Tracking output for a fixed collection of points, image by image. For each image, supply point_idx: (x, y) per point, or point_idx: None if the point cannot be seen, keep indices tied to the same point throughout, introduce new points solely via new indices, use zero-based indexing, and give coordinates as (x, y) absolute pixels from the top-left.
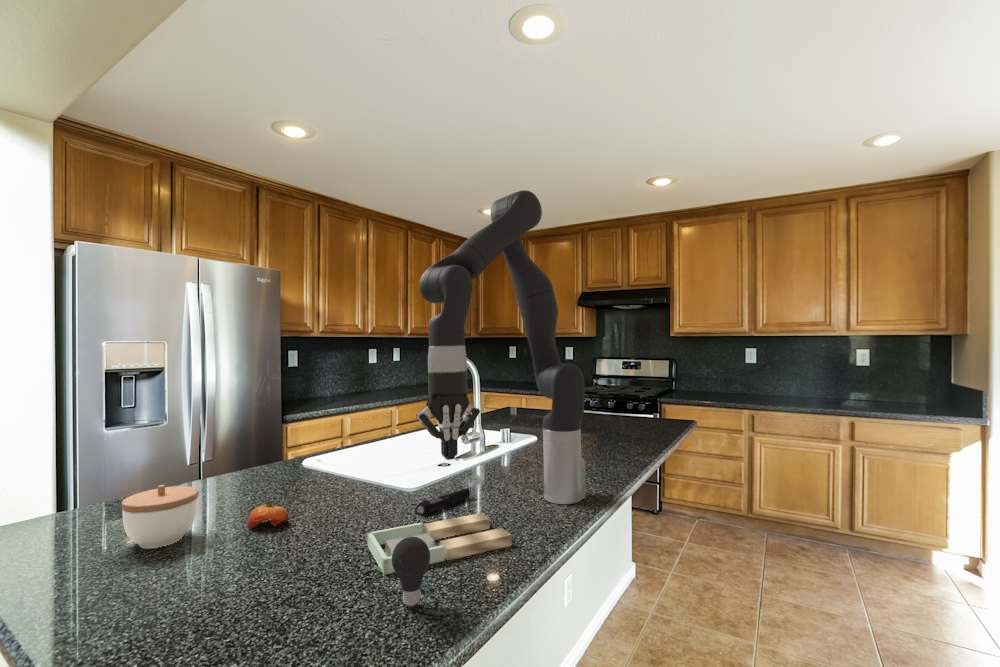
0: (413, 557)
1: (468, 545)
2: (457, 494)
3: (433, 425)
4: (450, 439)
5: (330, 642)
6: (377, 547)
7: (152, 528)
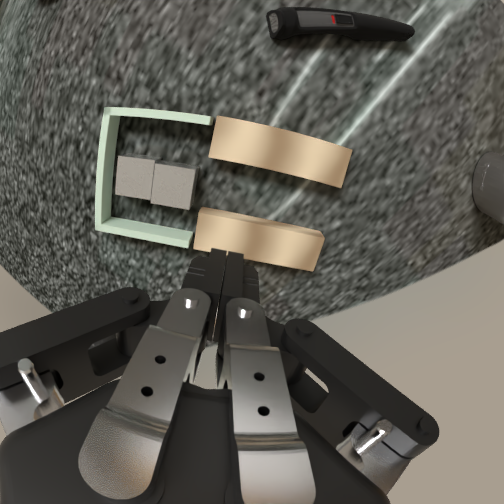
0: None
1: None
2: (380, 30)
3: (91, 387)
4: (220, 325)
5: (54, 300)
6: (97, 181)
7: None
